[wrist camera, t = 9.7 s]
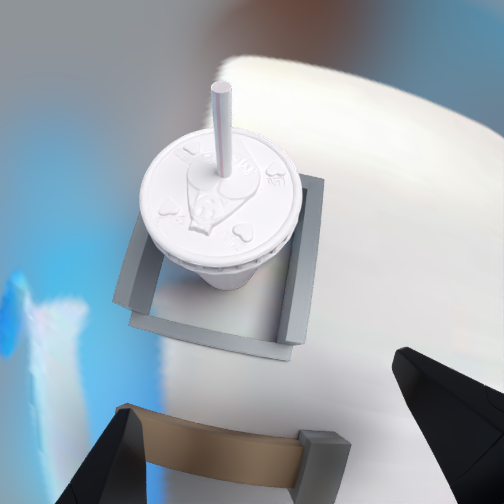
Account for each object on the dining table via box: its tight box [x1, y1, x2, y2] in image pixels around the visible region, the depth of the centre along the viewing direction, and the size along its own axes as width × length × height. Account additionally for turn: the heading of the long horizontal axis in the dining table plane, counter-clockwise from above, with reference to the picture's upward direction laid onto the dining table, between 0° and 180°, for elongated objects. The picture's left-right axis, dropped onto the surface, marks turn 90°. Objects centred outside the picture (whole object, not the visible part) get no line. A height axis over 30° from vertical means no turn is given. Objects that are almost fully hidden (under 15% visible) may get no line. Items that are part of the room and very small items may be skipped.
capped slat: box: [115, 403, 351, 504], centre depth 14 cm, size 14×4×3 cm, turn 79°
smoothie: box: [140, 81, 302, 290], centre depth 14 cm, size 6×6×14 cm
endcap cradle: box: [113, 173, 324, 361], centre depth 18 cm, size 11×10×4 cm
